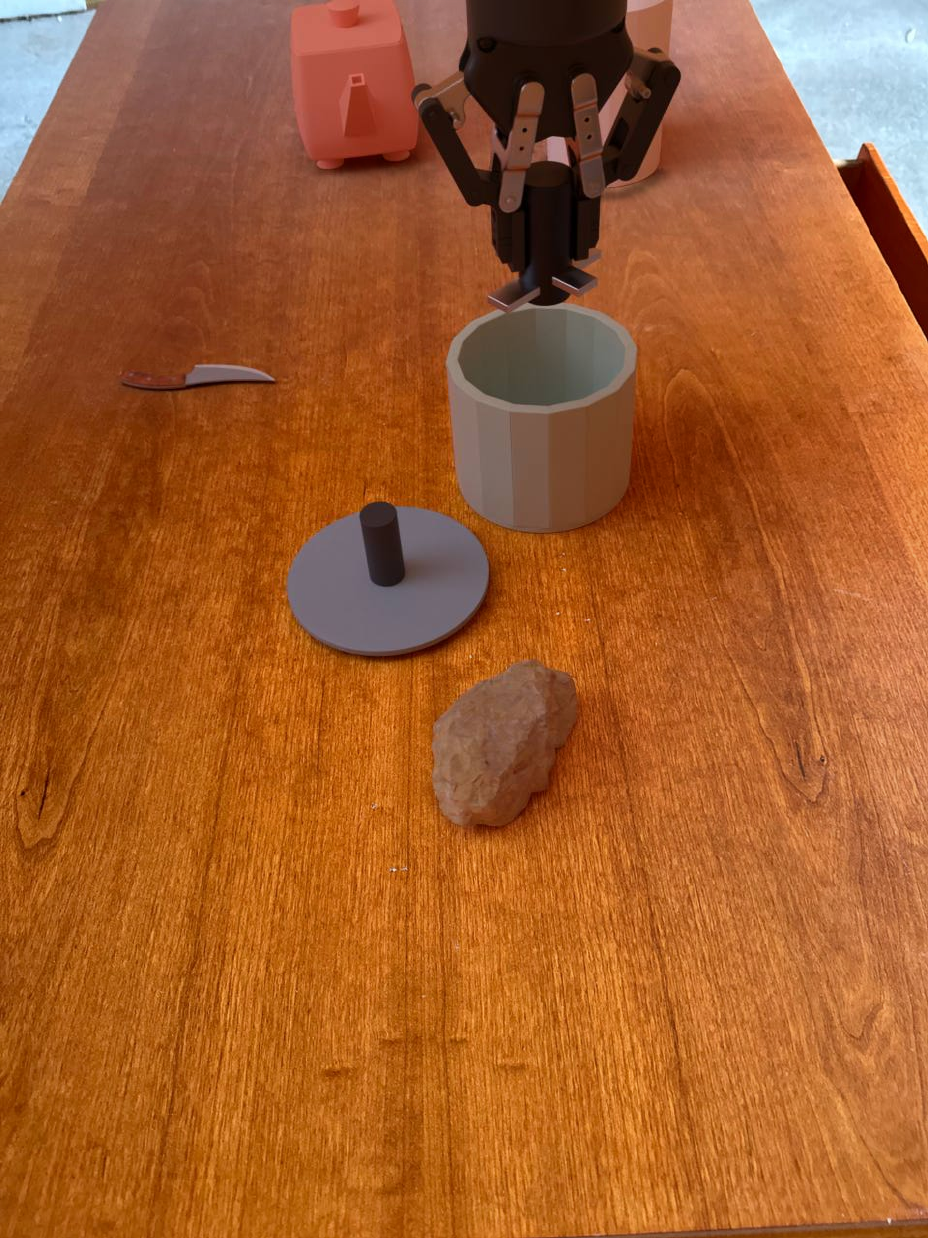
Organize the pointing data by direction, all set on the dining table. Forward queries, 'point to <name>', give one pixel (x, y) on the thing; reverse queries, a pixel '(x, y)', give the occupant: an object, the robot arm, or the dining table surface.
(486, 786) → the stone tool
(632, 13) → the bottle
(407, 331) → the dining table surface
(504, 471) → the processor bowl
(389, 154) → the teapot
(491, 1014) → the dining table surface
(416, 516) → the lid
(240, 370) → the knife
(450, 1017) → the dining table surface
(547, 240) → the blade unit
